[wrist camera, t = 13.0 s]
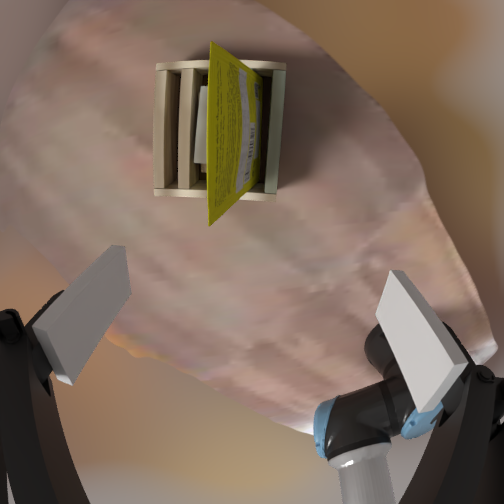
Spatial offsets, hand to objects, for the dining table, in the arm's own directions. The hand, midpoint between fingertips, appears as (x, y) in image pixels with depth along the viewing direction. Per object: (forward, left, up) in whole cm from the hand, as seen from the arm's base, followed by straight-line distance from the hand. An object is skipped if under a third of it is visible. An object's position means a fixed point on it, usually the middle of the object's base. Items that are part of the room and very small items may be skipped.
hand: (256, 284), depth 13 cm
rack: (+6, -6, -30) cm, 31 cm away
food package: (0, -6, -30) cm, 31 cm away
